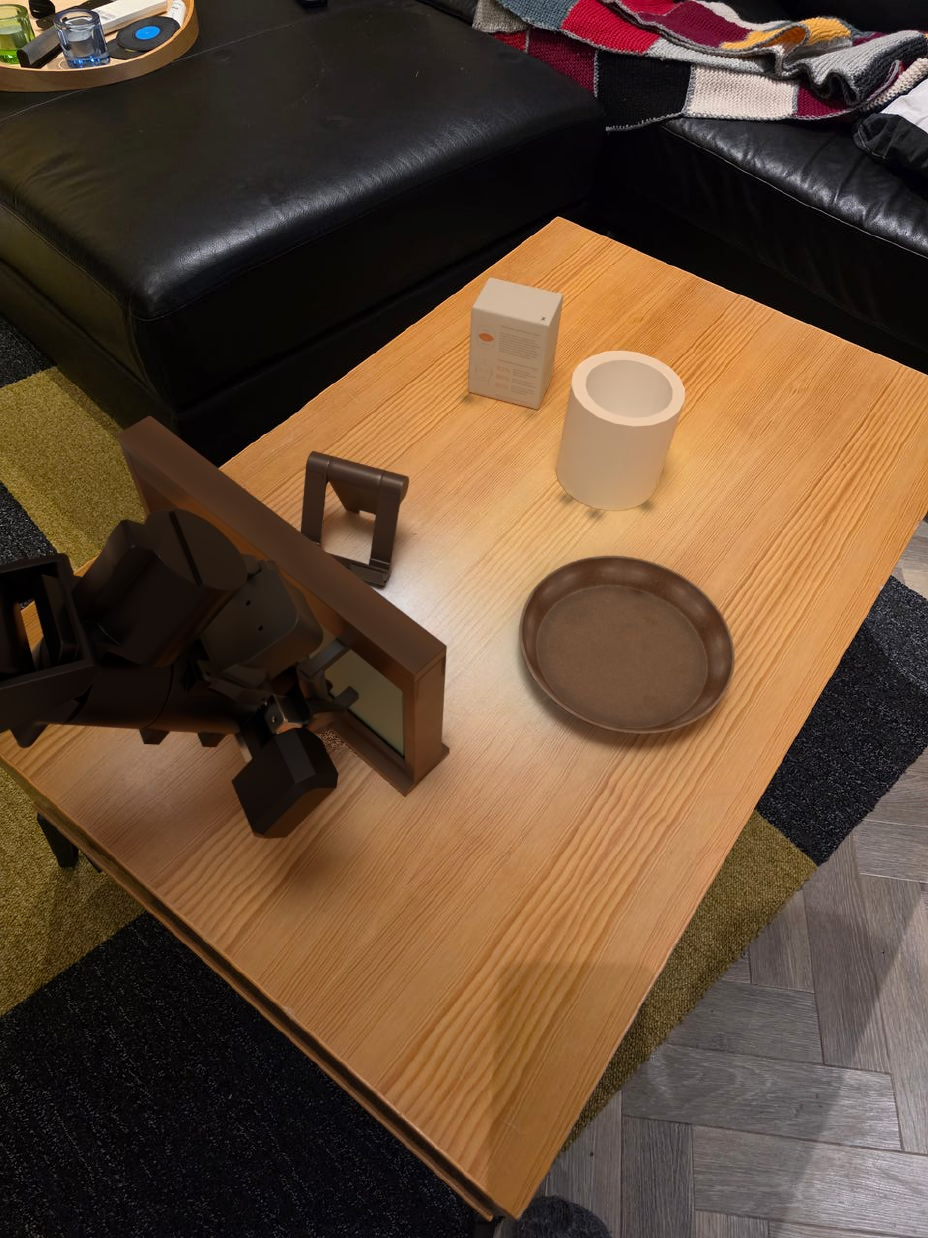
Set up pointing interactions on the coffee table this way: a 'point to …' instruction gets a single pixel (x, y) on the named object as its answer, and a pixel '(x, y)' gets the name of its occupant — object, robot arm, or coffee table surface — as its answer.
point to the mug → (618, 429)
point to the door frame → (309, 596)
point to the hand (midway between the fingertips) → (335, 700)
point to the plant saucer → (626, 644)
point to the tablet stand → (355, 507)
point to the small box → (513, 342)
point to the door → (354, 689)
